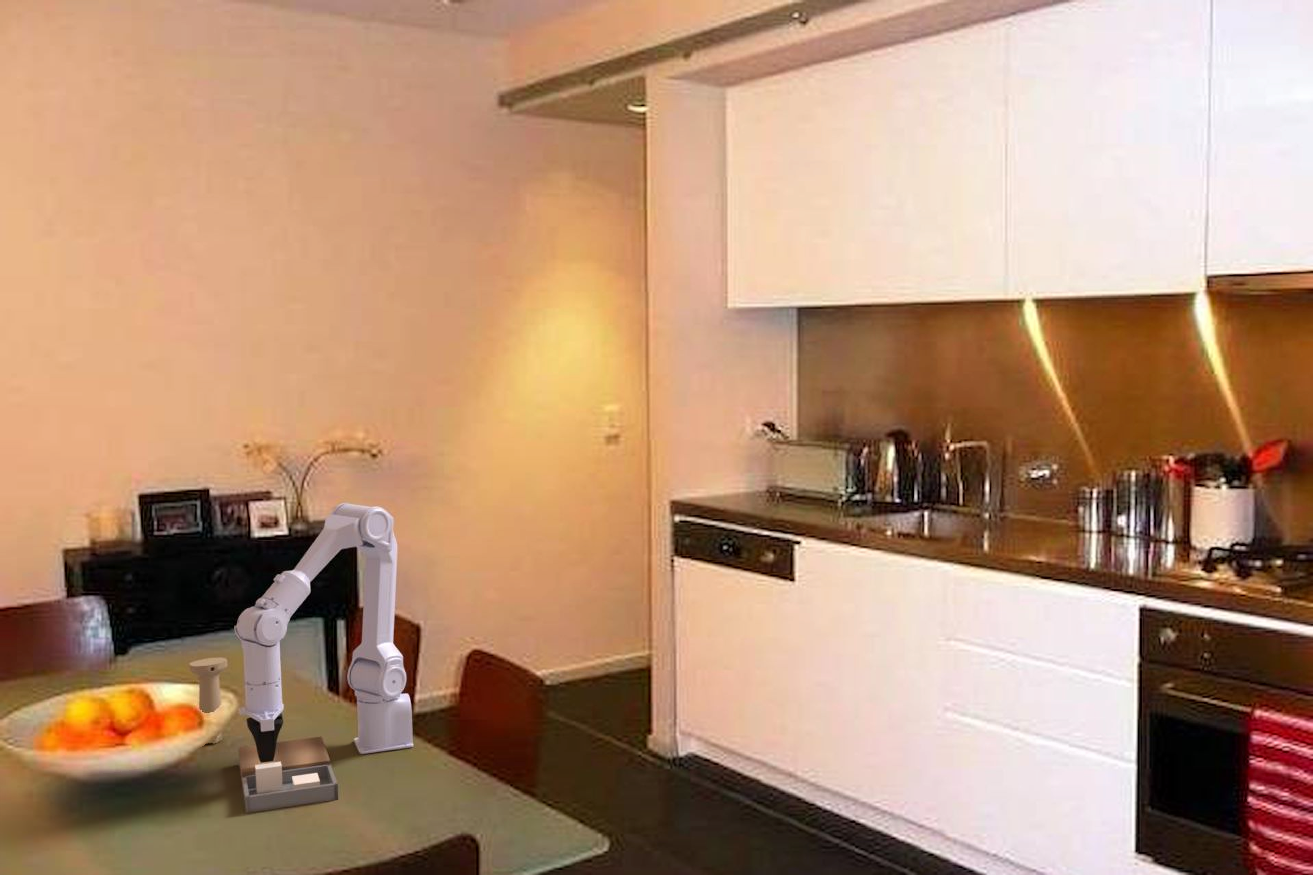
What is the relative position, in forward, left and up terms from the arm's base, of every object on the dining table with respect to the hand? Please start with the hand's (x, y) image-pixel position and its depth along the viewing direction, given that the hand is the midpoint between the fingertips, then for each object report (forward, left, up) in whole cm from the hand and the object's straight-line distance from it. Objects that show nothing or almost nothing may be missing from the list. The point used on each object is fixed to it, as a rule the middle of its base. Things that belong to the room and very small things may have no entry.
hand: (266, 760), depth 202 cm
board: (-3, -5, -4) cm, 7 cm away
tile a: (-6, +7, -2) cm, 9 cm away
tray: (-3, +6, -4) cm, 8 cm away
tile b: (0, +3, -2) cm, 3 cm away
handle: (+8, -26, -4) cm, 27 cm away
